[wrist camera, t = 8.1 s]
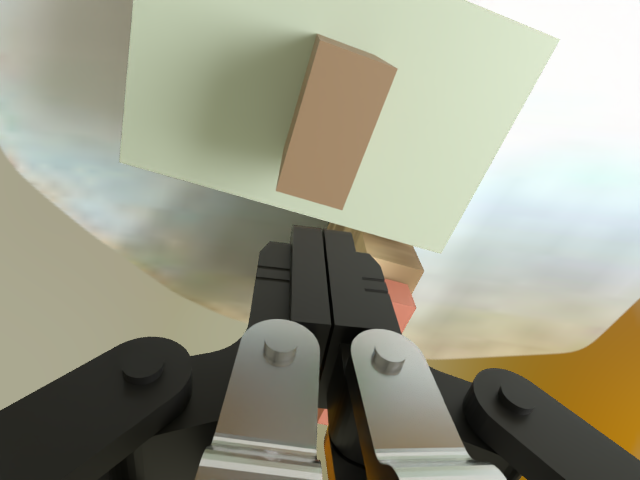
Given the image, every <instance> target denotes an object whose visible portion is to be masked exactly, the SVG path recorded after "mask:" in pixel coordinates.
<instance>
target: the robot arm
mask: <svg viewBox="0 0 640 480" xmlns="http://www.w3.org/2000/svg"><path fill="white" fill-rule="evenodd" d="M318 408H322V409H327V411H328V427H327V430H326V434H325V437H324V451H325V459H326V467H327V474H328V480H519V479H520V478H521V476H524V477H525V478H526V479H527V480H640V461H639V460H638V459H637V458H635V457H634V456H633V455H631V454H630V453H628V452H627V451H626V450H624V449H623V448H622V447H620V446H619V445H617V444H616V443H615V442H613V441H612V440H611V439H609V438H608V437H606V436H605V435H604V434H602V433H601V432H599V431H598V430H596V429H595V428H594V427H593V426H591V425H590V424H588V423H587V422H586V421H584V420H583V419H581V418H580V417H579V416H577V415H576V414H574V413H573V412H572V411H570V410H569V409H567V408H566V407H565V406H563V405H562V404H561V403H559V402H558V401H556V400H555V399H554V398H552V397H551V396H549V395H548V394H547V393H545V392H544V391H543V390H541V389H540V388H538V387H537V386H536V385H534V384H533V383H532V382H530V381H529V380H527V379H525V378H523V377H522V376H520V375H518V374H515V373H513V372H511V371H508V370H504V369H497V368H490V369H485V370H482V371H481V372H479V373H478V374H477V375H476V377H475V379H474V381H473V382H472V383H471V382H468V381H465V380H463V379H460V378H457V377H454V376H451V375H448V374H445V373H443V372H440V371H438V370H435V369H433V368H431V367H429V366H428V364H427V362H426V359H425V357H424V355H423V354H422V352H421V351H420V349H419V348H418V347H417V346H416V345H415V344H414V343H413V342H412V341H410V340H409V339H408V338H406V337H404V336H403V335H402V333H401V330H400V327H399V324H398V320H397V317H396V314H395V311H394V308H393V304H392V301H391V298H390V295H389V294H388V288H387V285H386V282H385V278H384V275H383V272H382V269H381V266H380V265H379V264H378V263H377V262H376V260H375V259H374V258H373V257H372V256H371V255H370V254H369V253H361V252H356V249H355V245H354V240H353V236H352V233H351V232H345V231H337V230H329V229H323V230H322V229H321V228H313V227H305V226H297V225H293V227H292V232H291V238H290V244H286V243H278V242H269V243H268V244H267V245H266V246H265V247H264V248H263V249H262V250H261V251H260V255H259V261H258V268H257V274H256V280H255V286H254V293H253V299H252V305H251V312H250V318H249V324H248V328H247V330H246V332H245V333H244V335H243V336H242V337H241V338H240V339H239V340H238V341H237V342H235V343H234V344H232V345H231V346H229V347H227V348H225V349H222V350H219V351H215V352H211V353H206V354H200V355H195V356H190V355H189V354H188V352H187V350H186V349H185V348H184V347H183V346H181V345H180V344H178V343H177V342H175V341H173V340H170V339H166V338H160V337H143V338H137V339H133V340H130V341H127V342H125V343H122V344H120V345H118V346H116V347H114V348H113V349H111V350H109V351H107V352H105V353H103V354H102V355H100V356H98V357H96V358H95V359H93V360H91V361H89V362H88V363H86V364H84V365H82V366H80V367H79V368H76V369H75V370H73V371H71V372H69V373H67V374H66V375H64V376H62V377H60V378H58V379H57V380H55V381H53V382H51V383H49V384H47V385H46V386H44V387H42V388H40V389H38V390H37V391H35V392H33V393H31V394H29V395H28V396H26V397H24V398H22V399H20V400H19V401H17V402H15V403H13V404H11V405H10V406H8V407H6V408H4V409H2V410H0V480H322V468H321V462H320V460H317V456H316V442H317V441H316V440H317V417H318Z"/></svg>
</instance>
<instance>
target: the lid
mask: <svg viewBox="0 0 640 480" xmlns="http://www.w3.org/2000/svg"><path fill="white" fill-rule="evenodd" d="M559 40H560V39H557V38H555V37H553V36H550V35H548V34H545V33H543V32H541V31H538V30H536V29H533V28H531V27H528V26H526V25H524V24H521V23H519V22H516V21H514V20H512V19H509V18H507V17H504V16H502V15H499V14H497V13H495V12H492V11H490V10H487V9H485V8H483V7H480V6H478V5H475V4H473V3H470V2H468V1H466V0H133V9H132V21H131V32H130V44H129V55H128V67H127V78H126V90H125V101H124V113H123V124H122V136H121V147H120V159H119V162H120V163H123V164H127V165H130V166H134V167H137V168H141V169H144V170H148V171H152V172H155V173H159V174H162V175H166V176H169V177H173V178H176V179H180V180H183V181H187V182H190V183H194V184H197V185H201V186H204V187H208V188H211V189H215V190H218V191H222V192H225V193H229V194H232V195H236V196H239V197H243V198H247V199H250V200H254V201H257V202H261V203H264V204H268V205H271V206H275V207H278V208H282V209H285V210H289V211H292V212H296V213H299V214H303V215H306V216H310V217H313V218H317V219H320V220H324V221H327V222H331V223H334V224H338V225H342V226H345V227H349V228H352V229H356V230H359V231H363V232H366V233H370V234H373V235H377V236H380V237H384V238H387V239H391V240H394V241H398V242H401V243H405V244H408V245H412V246H415V247H419V248H422V249H426V250H429V251H433V252H437V253H440V254H441V253H442V251H443V249H444V247H445V245H446V244H447V242H448V240H449V238H450V236H451V235H452V233H453V231H454V229H455V227H456V226H457V224H458V222H459V220H460V218H461V217H462V215H463V213H464V211H465V209H466V208H467V206H468V204H469V202H470V200H471V199H472V197H473V195H474V193H475V191H476V190H477V188H478V186H479V184H480V182H481V181H482V179H483V177H484V175H485V173H486V172H487V170H488V168H489V166H490V164H491V163H492V161H493V159H494V157H495V155H496V154H497V152H498V150H499V148H500V146H501V145H502V143H503V141H504V139H505V137H506V136H507V134H508V132H509V130H510V128H511V127H512V125H513V123H514V121H515V119H516V118H517V116H518V114H519V112H520V110H521V109H522V107H523V105H524V103H525V101H526V100H527V98H528V96H529V94H530V92H531V91H532V89H533V87H534V85H535V83H536V82H537V80H538V78H539V76H540V74H541V73H542V71H543V69H544V67H545V65H546V64H547V62H548V60H549V58H550V57H551V55H552V53H553V51H554V49H555V48H556V46H557V44H558V42H559Z"/></svg>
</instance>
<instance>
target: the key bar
mask: <svg viewBox="0 0 640 480" xmlns="http://www.w3.org/2000/svg"><path fill="white" fill-rule="evenodd" d="M385 282H386V285H387V288H388V294H389V295H390V298H391V301H392V304H393V308H394V311H395V314H396V317H397V320H398V324H399V327H400V330H401V333H402V332H403V330H404V329H405V327H406V325H407V323H408V322H409V320H410V318H411V316H412V315H413V313H414V311H415V309H416V306H415V303H414V300H413V298H412V295H411V292H410V290H409V287H408V285H407V284H404V283H400V282H396V281H392V280H388V279H385ZM317 423H319V424H324V425H328V411H327V409H322V408H318V417H317Z"/></svg>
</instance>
